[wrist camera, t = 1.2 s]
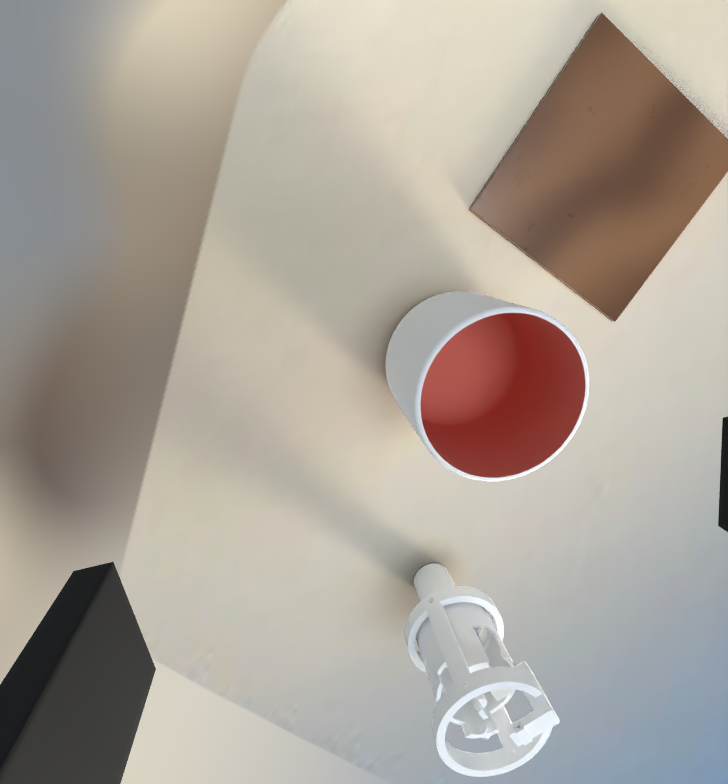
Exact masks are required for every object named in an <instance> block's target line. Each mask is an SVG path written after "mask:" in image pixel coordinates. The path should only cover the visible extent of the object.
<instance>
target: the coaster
mask: <svg viewBox="0 0 728 784" xmlns="http://www.w3.org/2000/svg"><path fill="white" fill-rule="evenodd" d="M727 172H728V139H727V138H726V137H725V136H724V135H723V134H722V133H721V132H720V131H719V130H718V129H717V128H716V127H715V126H714V125H713V124H712V123H711V122H710V121H709V120H708V119H707V118H706V117H705V116H704V115H703V114H702V113H701V112H700V111H699V110H698V109H697V108H696V107H695V106H694V105H693V104H692V103H691V102H690V101H689V100H688V99H687V98H686V97H685V96H684V95H683V94H682V93H681V92H680V91H679V90H678V89H677V88H676V87H675V86H674V85H673V84H672V83H671V82H670V81H669V80H668V79H667V78H666V77H665V76H664V75H663V74H662V73H661V72H660V71H659V70H658V69H657V68H656V67H655V66H654V65H653V64H652V63H651V62H650V61H649V60H648V59H647V58H646V57H645V56H644V55H643V54H642V53H641V52H640V51H639V50H638V49H637V48H636V47H635V46H634V45H633V44H632V43H631V42H630V41H629V40H628V39H627V38H626V37H625V36H624V35H623V34H622V33H621V32H620V31H619V30H618V29H617V28H616V27H615V26H614V25H613V24H612V23H611V22H610V21H609V20H608V19H607V18H606V17H605V15H604V14H603V13H601V14H600V15H598V17H597V18H596V20H595V21H594V23H593V24H592V26H591V27H590V29H589V30H588V32H587V33H586V35H585V36H584V38H583V39H582V41H581V42H580V44H579V45H578V47H577V48H576V50H575V51H574V53H573V54H572V56H571V57H570V59H569V60H568V62H567V63H566V65H565V66H564V68H563V69H562V71H561V72H560V74H559V75H558V77H557V78H556V80H555V81H554V83H553V84H552V86H551V87H550V89H549V90H548V92H547V93H546V95H545V96H544V98H543V99H542V101H541V102H540V104H539V105H538V107H537V108H536V110H535V111H534V113H533V114H532V116H531V117H530V119H529V120H528V122H527V123H526V125H525V126H524V128H523V129H522V131H521V132H520V134H519V135H518V137H517V138H516V140H515V141H514V143H513V144H512V146H511V147H510V149H509V150H508V152H507V153H506V155H505V156H504V158H503V159H502V161H501V162H500V164H499V165H498V167H497V168H496V170H495V171H494V173H493V174H492V176H491V177H490V179H489V180H488V182H487V183H486V185H485V186H484V188H483V189H482V191H481V193H480V194H479V196H478V197H477V199H476V200H475V202H474V203H473V205H472V206H471V208H470V209H469V210H470V211H471V212H473V213H474V214H475V215H477V216H478V217H479V218H480V219H482V220H483V221H484V222H486V223H487V224H488V225H489V226H491V227H492V228H493V229H495V230H496V231H497V232H498V233H500V234H501V235H502V236H504V237H505V238H506V239H507V240H509V241H510V242H511V243H513V244H514V245H515V246H516V247H518V248H519V249H520V250H522V251H523V252H524V253H525V254H527V255H528V256H529V257H531V258H532V259H533V260H534V261H536V262H537V263H538V264H540V265H541V266H542V267H543V268H545V269H546V270H547V271H549V272H550V273H551V274H552V275H554V276H555V277H556V278H558V279H559V280H560V281H561V282H563V283H564V284H565V285H567V286H568V287H569V288H570V289H572V290H573V291H574V292H576V293H577V294H578V295H579V296H581V297H582V298H583V299H585V300H586V301H587V302H588V303H590V304H591V305H592V306H594V307H595V308H596V309H597V310H599V311H600V312H601V313H603V314H604V315H605V316H606V317H608V318H609V319H610V320H612V321H616V320H617V318H618V317H619V316H620V314H621V313H622V312H623V310H624V309H625V308H626V306H627V305H628V304H629V302H630V301H631V300H632V298H633V297H634V296H635V294H636V293H637V292H638V290H639V289H640V288H641V286H642V285H643V284H644V282H645V281H646V280H647V278H648V277H649V276H650V274H651V273H652V272H653V270H654V269H655V268H656V266H657V265H658V264H659V262H660V261H661V260H662V258H663V257H664V256H665V254H666V253H667V252H668V250H669V249H670V248H671V246H672V245H673V244H674V242H675V241H676V240H677V238H678V237H679V236H680V234H681V233H682V232H683V230H684V229H685V228H686V226H687V225H688V224H689V222H690V221H691V220H692V218H693V217H694V216H695V214H696V213H697V212H698V210H699V209H700V208H701V206H702V205H703V204H704V202H705V201H706V200H707V198H708V197H709V196H710V194H711V193H712V192H713V190H714V189H715V188H716V186H717V185H718V184H719V182H720V181H721V180H722V178H723V177H724V176H725V174H726V173H727Z"/></svg>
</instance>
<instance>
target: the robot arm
mask: <svg viewBox="0 0 728 784" xmlns="http://www.w3.org/2000/svg"><path fill="white" fill-rule="evenodd" d="M718 526H720V527H721V528H723V529H724V530H725V531H727V532H728V417H724V418H723V425H722V450H721V474H720V498H719V523H718ZM155 670H156V669H155V666H154V663H153V661H152V658H151V656H150V653H149V651H148V648H147V646H146V643H145V641H144V638H143V636H142V633H141V631H140V628H139V626H138V623H137V621H136V618H135V615H134V613H133V610H132V608H131V605H130V603H129V600H128V598H127V595H126V593H125V590H124V588H123V585H122V583H121V580H120V578H119V575H118V573H117V570H116V568H115V565H114V563H113V562H111V563H106V564H102V565H98V566H94V567H90V568H85V569H81V570H77V571H74V572H73V573H72V575H71V576H70V578H69V579H68V581H67V582H66V584H65V586H64V587H63V589H62V590H61V592H60V593H59V595H58V596H57V598H56V600H55V601H54V603H53V604H52V606H51V607H50V609H49V610H48V612H47V613H46V615H45V616H44V618H43V620H42V621H41V623H40V624H39V626H38V627H37V629H36V631H35V632H34V633H33V635H32V637H31V638H30V640H29V641H28V643H27V644H26V646H25V648H24V649H23V650H22V652H21V654H20V655H19V657H18V658H17V660H16V662H15V663H14V665H13V666H12V668H11V669H10V671H9V672H8V674H7V675H6V677H5V678H4V680H3V681H2V683H1V685H0V784H120V783H121V780H122V777H123V773H124V770H125V767H126V764H127V760H128V757H129V754H130V751H131V747H132V744H133V740H134V738H135V734H136V731H137V728H138V725H139V721H140V718H141V715H142V712H143V708H144V705H145V702H146V699H147V696H148V692H149V689H150V686H151V683H152V679H153V676H154V673H155Z"/></svg>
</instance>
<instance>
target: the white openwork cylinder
mask: <svg viewBox="0 0 728 784" xmlns="http://www.w3.org/2000/svg"><path fill="white" fill-rule="evenodd" d="M414 585H415V588H416V591H417V593H418V596H419V599H420V602H419V603H418V604H417V605H416V606H415V608H414V609H413V610H412V612H411V613H410V615H409V617H408V619H407V622H406V626H405V640H406V643H407V647H408V650H409V654H410V657H411V659H412V661H413V662H414V663H415V665H416V666H417V667H418V668H419V669H420V670H422V671H423V672H425V673H427V675H428V678H429V681H430V684H431V687H432V690H433V694H434V697H435V700H436V703H437V704H436V706H435V708H434V711H433V714H432V720H431V727H432V732H433V736H434V739H435V743H436V746H437V749H438V753H439V755H440V757H441V759H442V760H443V761H444V763H445V764H446V765H447V766H449V767H450V768H451V769H453V770H454V771H456V772H458V773H461V774H464V775H468V776H475V777H487V776H494V775H499V774H502V773H506V772H508V771H511V770H513V769H515V768H517V767H519V766H521V765H522V764H524V763H526V762H527V761H528V760H530V759H531V758H532V757H533V756H534V755H535V754H536V753H537V752H538V751H539V750H540V749H541V748H542V747H543V745H544V744H545V742H546V741H547V739H548V737H549V735H550V733H551V730H552V727H553V726H555V725H557V724H558V723H560V720H559V718H558V716H557V715H556V713H555V711H554V709H553V707H552V706H551V704H550V702H549V700H548V698H547V697H546V695H545V693H544V691H543V690H542V688H541V686H540V684H539V683H538V681H537V679H536V677H535V676H534V674H533V672H532V670H531V669H530V667H529V666H528V664H527V663H526V662H525V661H522V662H521V663H519V664H517V665H516V666H515V664H514V662H513V661H512V659H511V657H510V655H509V653H508V651H507V649H506V647H505V645H504V644H503V642H502V640H503V635H504V624H503V620H502V617H501V615H500V613H499V612H498V610H497V608H496V606H495V605H494V603H493V601H492V600H491V599H490V598H489V597H488V596H487V595H486V594H485V593H483V592H482V591H480V590H477V589H475V588H471V587H466V586H455V585H454V583H453V581H452V578H451V576H450V574H449V572H448V570H447V569H446V568H445V567H444V566H443V565H440V564H435V563H434V564H428V565H425V566H423V567H422V568H421V569H419V570H418V572H417V573H416V575H415V577H414ZM485 608H486V609H487V610H488V611H489V612H490V613H491V617H492V621H491V619H490V617H489V615H488V614H487V612H486V610H485ZM481 627H482V630H481V632H480V634H479V635H478V633H477V629H479V628H481ZM415 638H416V640H417V644H418V647H419V650H420V652H419V651H418V649H417V648H416V647H415ZM515 690H521V691H524V693H525V695H526V697H527V699H528V701H529V703H530V704H531V706H532V708H533V711H532V712H530V713H528V714H527V715H525V716H524V717H522V718H520V719H519V720H517V721H515V722H514V723H512V722H511V719H510V717H509V715H508V713H507V711H506V709H505V706H504V705H505V704H506V703H507V702H508V701H509V700H510V698H511V697H512V695H513V694H514V692H515ZM450 721H451V722H453V723H456V724H459V725H461V726H462V729H463V732H464V735H465V737H466V738H483V739H489V738H490V736H491V735H494V734H496V733H497V734H498V737H499V739H500V742H501V744H502V746H503V748H500V749H498V750H494V751H491V752H485V753H469V752H464V751H461V750H458V749H456V748H454V747H453V746H451V745H450V744H449V743H448V742H447V741H446V740H445V732H446V729H447V726H448V724H449V722H450Z"/></svg>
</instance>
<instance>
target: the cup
mask: <svg viewBox="0 0 728 784" xmlns="http://www.w3.org/2000/svg"><path fill="white" fill-rule="evenodd" d="M386 377H387V382H388V386H389V388H390V391H391V393H392V396H393V397H394V399H395V401H396V402H397V404H398V405H399V407H400V409H401V410H402V412H403V413H404V415H405V416H406V418H407V419H408V421H409V422H410V424H411V425H412V427H413V428H414V430H415V431H416V433H417V434H418V436H419V437H420V439H421V440H422V442H423V443H424V445H425V446H426V448H427V449H428V450H429V452H430V453H431V454H432V455H433V457H434V458H435V459H436V460H437V461H438V462H439V463H441V464H442V465H443V466H445V467H446V468H447V469H449V470H451V471H452V472H454V473H456V474H458V475H461V476H463V477H466V478H470V479H474V480H480V481H503V480H509V479H513V478H517V477H520V476H523V475H526V474H528V473H530V472H532V471H534V470H536V469H538V468H540V467H541V466H543V465H544V464H546V463H547V462H548V461H550V460H551V459H552V458H554V457H555V456H556V455H557V454H558V453H559V452H560V451H561V450H562V449H563V448H564V447H565V446H566V444H567V443H568V442H569V440H570V439H571V438H572V436H573V435H574V433H575V431H576V430H577V428H578V426H579V424H580V422H581V420H582V417H583V415H584V412H585V409H586V405H587V400H588V394H589V373H588V367H587V362H586V359H585V356H584V353H583V351H582V349H581V347H580V345H579V343H578V341H577V340H576V338H575V337H574V336H573V334H572V333H571V332H570V331H569V330H568V329H567V328H566V327H565V326H564V325H563V324H562V323H560V322H559V321H558V320H556V319H555V318H553V317H552V316H550V315H548V314H546V313H543V312H541V311H538V310H535V309H531V308H528V307H524V306H521V305H517V304H514V303H510V302H507V301H503V300H500V299H496V298H493V297H489V296H486V295H482V294H479V293H474V292H468V291H452V292H446V293H441V294H438V295H435V296H432V297H430V298H428V299H426V300H424V301H423V302H421V303H419V304H418V305H417V306H415V307H414V308H413V309H411V310H410V311H409V312H408V313H407V314H406V315H405V316H404V318H403V319H402V320H401V321H400V323H399V324H398V326H397V327H396V329H395V331H394V333H393V335H392V337H391V340H390V342H389V345H388V349H387V354H386Z"/></svg>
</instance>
